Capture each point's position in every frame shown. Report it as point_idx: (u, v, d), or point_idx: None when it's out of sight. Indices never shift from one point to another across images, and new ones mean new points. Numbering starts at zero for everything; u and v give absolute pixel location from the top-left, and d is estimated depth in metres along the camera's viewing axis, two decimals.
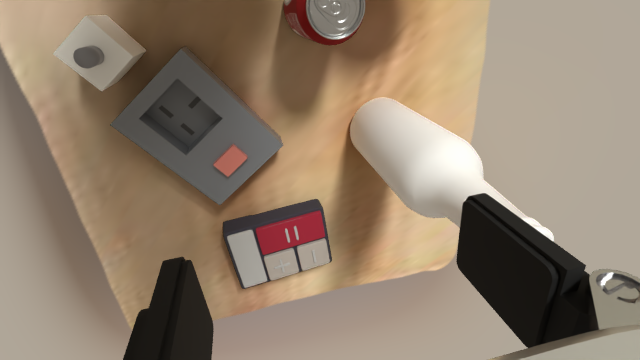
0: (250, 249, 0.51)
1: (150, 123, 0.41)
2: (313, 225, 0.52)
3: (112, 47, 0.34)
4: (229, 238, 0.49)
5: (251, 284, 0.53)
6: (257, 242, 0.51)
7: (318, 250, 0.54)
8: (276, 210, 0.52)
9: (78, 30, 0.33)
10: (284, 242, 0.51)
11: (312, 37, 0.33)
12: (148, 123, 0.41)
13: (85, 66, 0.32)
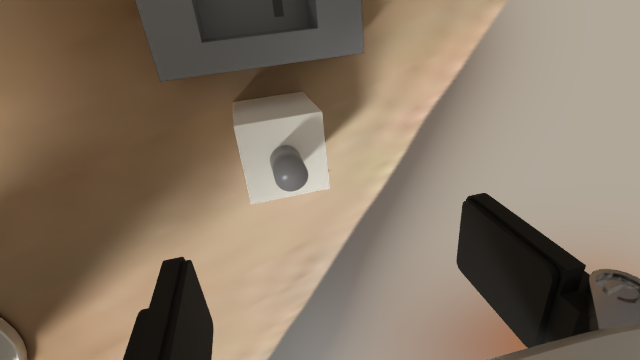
0: None
1: (311, 4, 0.20)
2: None
3: (251, 154, 0.20)
4: None
5: None
6: None
7: None
8: None
9: (275, 194, 0.21)
10: None
11: None
12: (313, 7, 0.20)
13: (300, 166, 0.18)
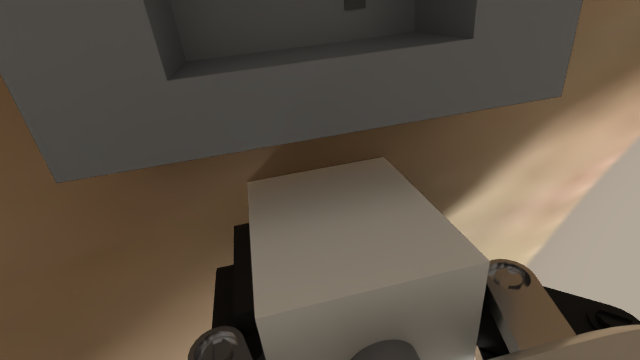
0: None
1: None
2: None
3: None
4: None
5: None
6: None
7: None
8: None
9: None
10: None
11: None
12: None
13: None
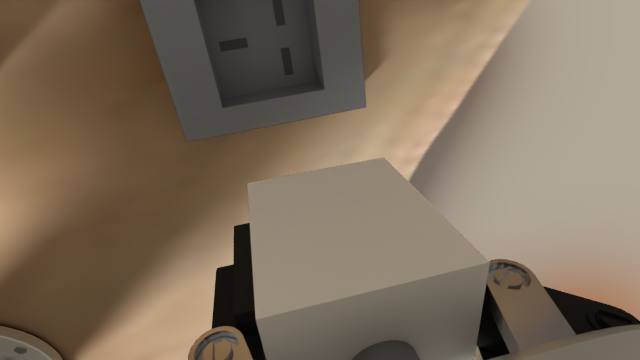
0: None
1: (318, 66, 0.23)
2: None
3: None
4: None
5: None
6: None
7: None
8: None
9: None
10: None
11: None
12: (320, 70, 0.22)
13: None
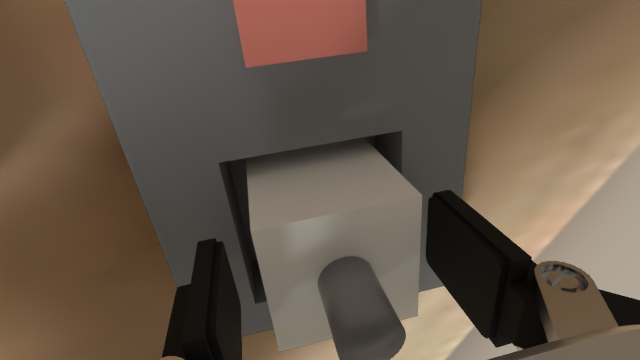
0: None
1: None
2: None
3: (284, 276, 0.10)
4: None
5: None
6: None
7: None
8: None
9: (323, 334, 0.12)
10: None
11: None
12: None
13: (393, 326, 0.09)
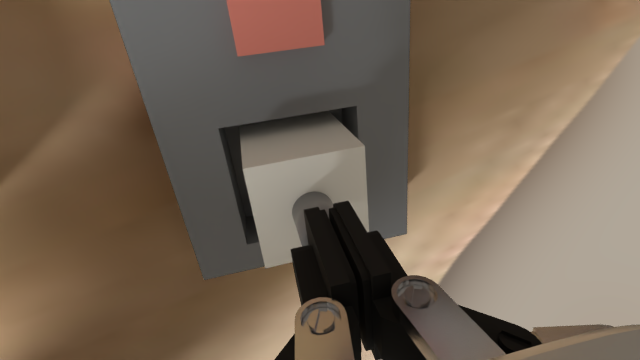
0: None
1: None
2: None
3: (267, 205, 0.14)
4: None
5: None
6: None
7: None
8: None
9: None
10: None
11: None
12: None
13: None
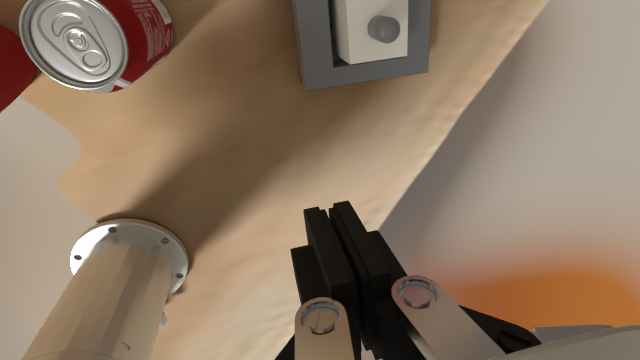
0: None
1: None
2: None
3: (355, 21, 0.27)
4: None
5: None
6: None
7: None
8: None
9: (368, 57, 0.28)
10: None
11: (135, 20, 0.21)
12: None
13: (396, 22, 0.25)
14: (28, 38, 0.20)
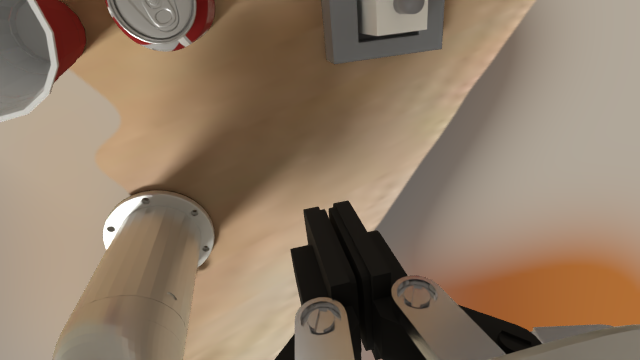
0: None
1: None
2: None
3: None
4: None
5: None
6: None
7: None
8: None
9: (392, 30, 0.32)
10: None
11: None
12: None
13: None
14: None
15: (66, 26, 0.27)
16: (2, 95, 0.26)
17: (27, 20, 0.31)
